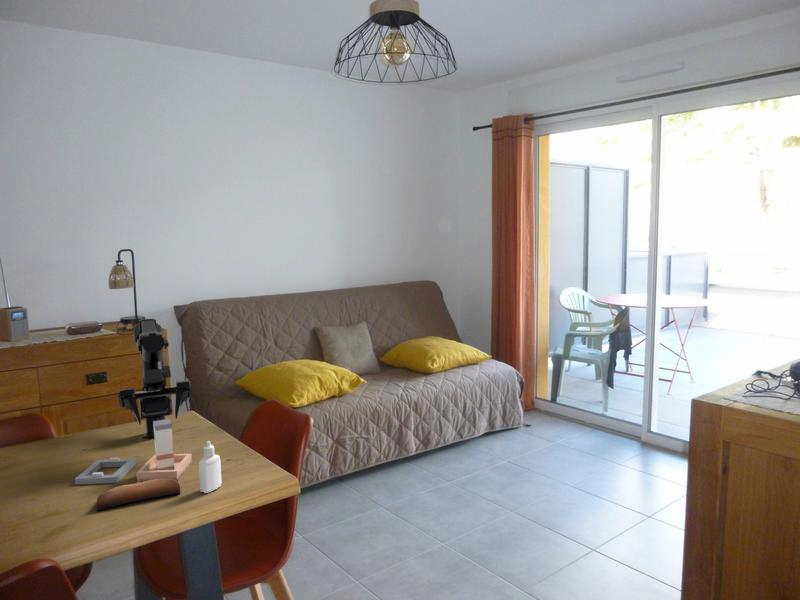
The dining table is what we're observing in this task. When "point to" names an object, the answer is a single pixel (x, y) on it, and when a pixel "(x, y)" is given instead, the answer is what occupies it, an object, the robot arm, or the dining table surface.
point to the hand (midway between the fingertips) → (158, 421)
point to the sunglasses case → (137, 492)
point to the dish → (152, 473)
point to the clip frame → (97, 477)
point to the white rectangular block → (163, 444)
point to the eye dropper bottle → (209, 470)
